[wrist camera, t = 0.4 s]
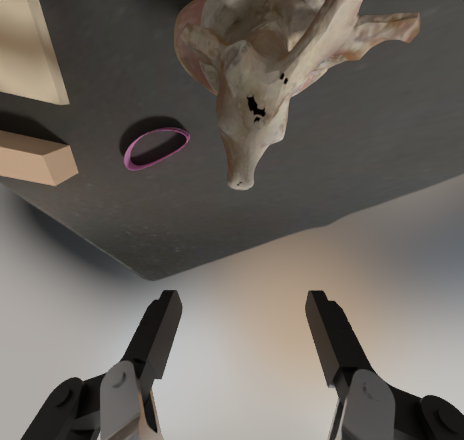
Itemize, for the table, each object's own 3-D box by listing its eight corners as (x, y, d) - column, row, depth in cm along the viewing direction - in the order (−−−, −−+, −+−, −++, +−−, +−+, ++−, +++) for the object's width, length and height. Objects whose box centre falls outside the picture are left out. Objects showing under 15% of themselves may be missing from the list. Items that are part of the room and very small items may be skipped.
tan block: (-20, 125, 26) (-66, 133, 22) (70, 145, 27) (42, 155, 23) (-2, 155, 29) (-40, 167, 25) (79, 172, 30) (55, 185, 26)
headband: (178, 113, 24) (174, 116, 23) (194, 141, 27) (191, 145, 25) (120, 147, 27) (112, 152, 26) (138, 169, 30) (132, 175, 28)
